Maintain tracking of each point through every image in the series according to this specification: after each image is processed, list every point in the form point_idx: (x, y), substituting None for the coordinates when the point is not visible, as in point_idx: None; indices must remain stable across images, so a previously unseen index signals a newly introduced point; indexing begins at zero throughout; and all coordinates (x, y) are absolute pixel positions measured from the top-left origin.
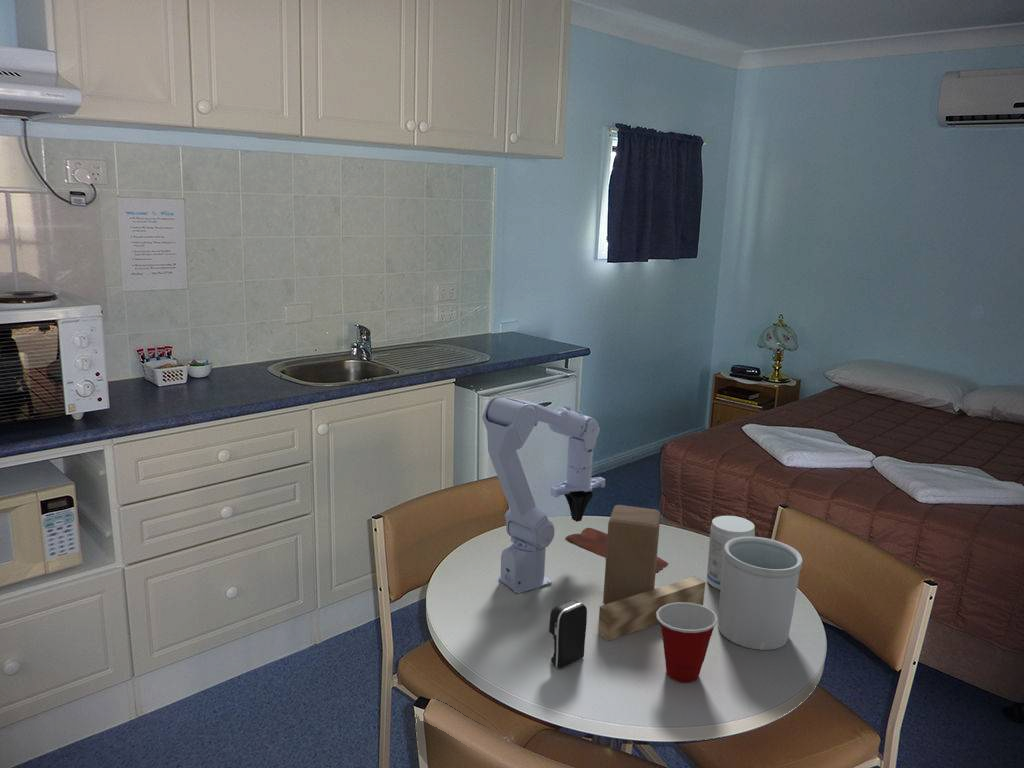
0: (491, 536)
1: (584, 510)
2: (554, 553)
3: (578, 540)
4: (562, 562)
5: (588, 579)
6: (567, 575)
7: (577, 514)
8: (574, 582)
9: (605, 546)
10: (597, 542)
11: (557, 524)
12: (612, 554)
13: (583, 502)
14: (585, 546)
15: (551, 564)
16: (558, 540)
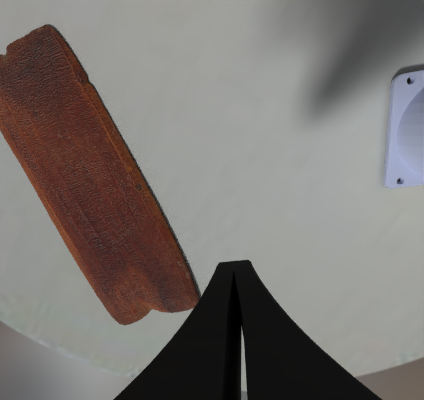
0: (355, 367)
1: (200, 301)
2: (266, 248)
3: (176, 278)
4: (275, 196)
5: (263, 67)
6: (308, 118)
7: (262, 285)
8: (316, 64)
9: (122, 224)
10: (134, 251)
11: None
12: None
13: (224, 375)
14: (173, 247)
15: (310, 197)
16: None
